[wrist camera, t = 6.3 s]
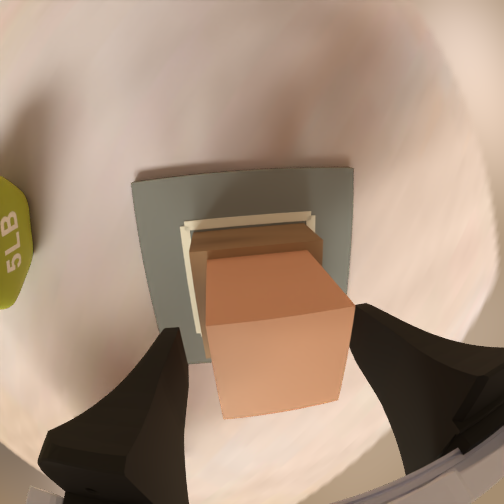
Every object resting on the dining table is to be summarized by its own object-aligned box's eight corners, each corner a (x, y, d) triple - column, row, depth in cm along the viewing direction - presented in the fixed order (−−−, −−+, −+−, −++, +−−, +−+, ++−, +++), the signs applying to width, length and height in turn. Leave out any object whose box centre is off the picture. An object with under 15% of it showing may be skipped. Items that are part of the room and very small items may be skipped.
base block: (301, 315, 18) (316, 344, 15) (206, 326, 17) (206, 358, 14) (303, 222, 16) (323, 240, 13) (192, 232, 15) (188, 252, 12)
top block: (304, 330, 15) (337, 400, 10) (217, 341, 14) (223, 419, 9) (307, 249, 13) (355, 306, 8) (206, 259, 13) (205, 325, 8)
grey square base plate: (336, 338, 20) (340, 344, 19) (169, 359, 19) (168, 365, 18) (348, 167, 16) (354, 168, 15) (134, 181, 14) (130, 183, 14)
